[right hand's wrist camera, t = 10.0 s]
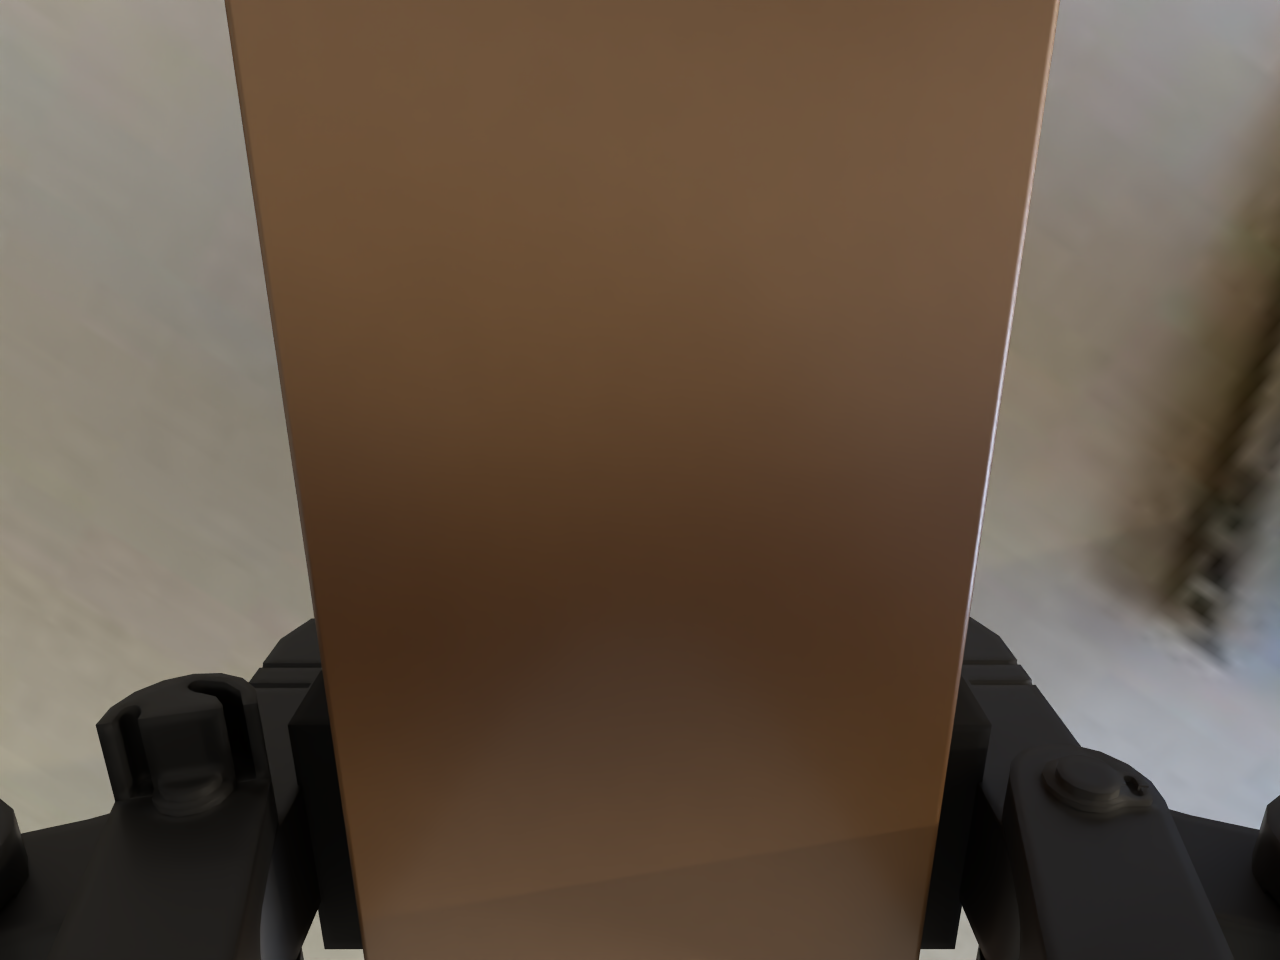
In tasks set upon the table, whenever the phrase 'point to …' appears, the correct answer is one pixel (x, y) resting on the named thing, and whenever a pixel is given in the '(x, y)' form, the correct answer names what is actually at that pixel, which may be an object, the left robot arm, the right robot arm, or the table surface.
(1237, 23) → the table surface
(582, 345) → the bar
